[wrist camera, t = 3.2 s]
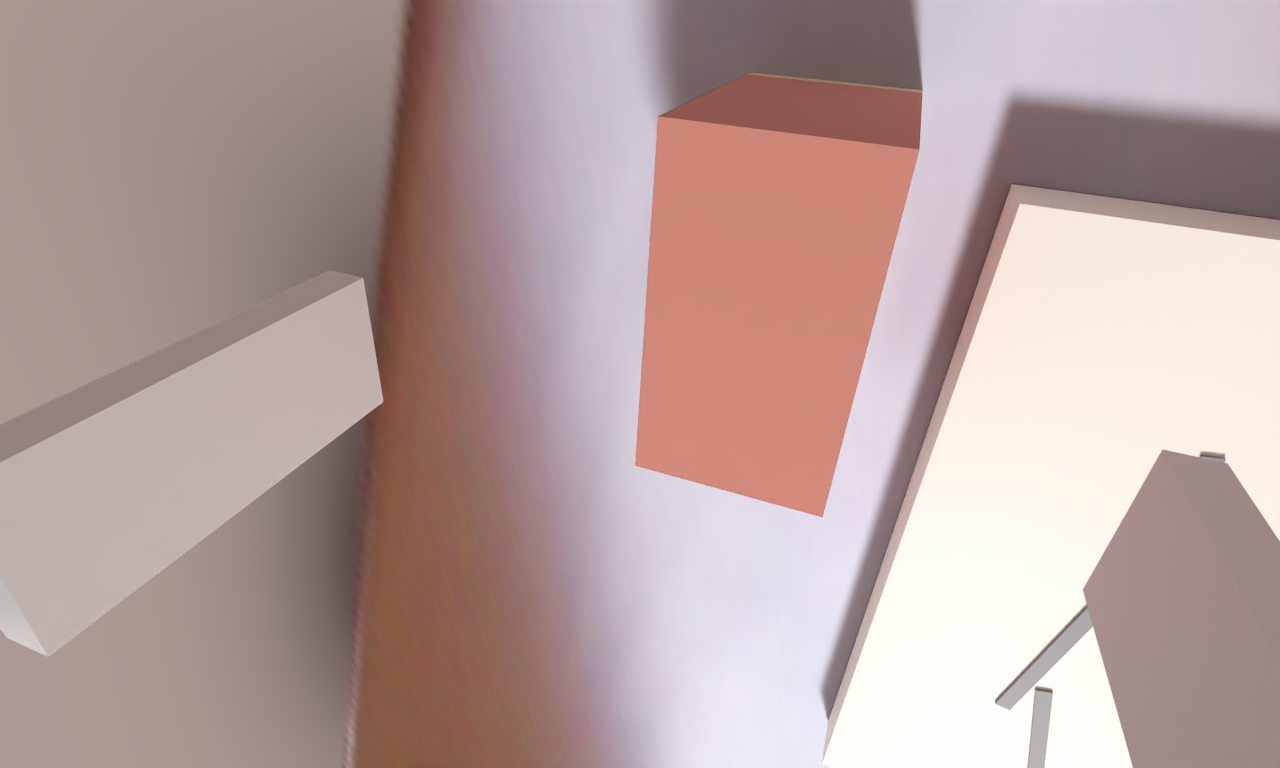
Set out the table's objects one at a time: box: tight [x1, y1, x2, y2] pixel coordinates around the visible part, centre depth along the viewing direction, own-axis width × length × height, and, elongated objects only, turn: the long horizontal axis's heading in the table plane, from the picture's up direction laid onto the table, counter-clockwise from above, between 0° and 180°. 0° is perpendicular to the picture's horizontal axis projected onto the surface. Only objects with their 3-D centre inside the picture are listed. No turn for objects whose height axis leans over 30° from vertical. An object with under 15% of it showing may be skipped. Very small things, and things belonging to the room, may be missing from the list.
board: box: [822, 184, 1280, 768], centre depth 21 cm, size 24×12×2 cm, turn 176°
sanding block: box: [635, 72, 922, 517], centre depth 17 cm, size 8×4×8 cm, turn 177°
